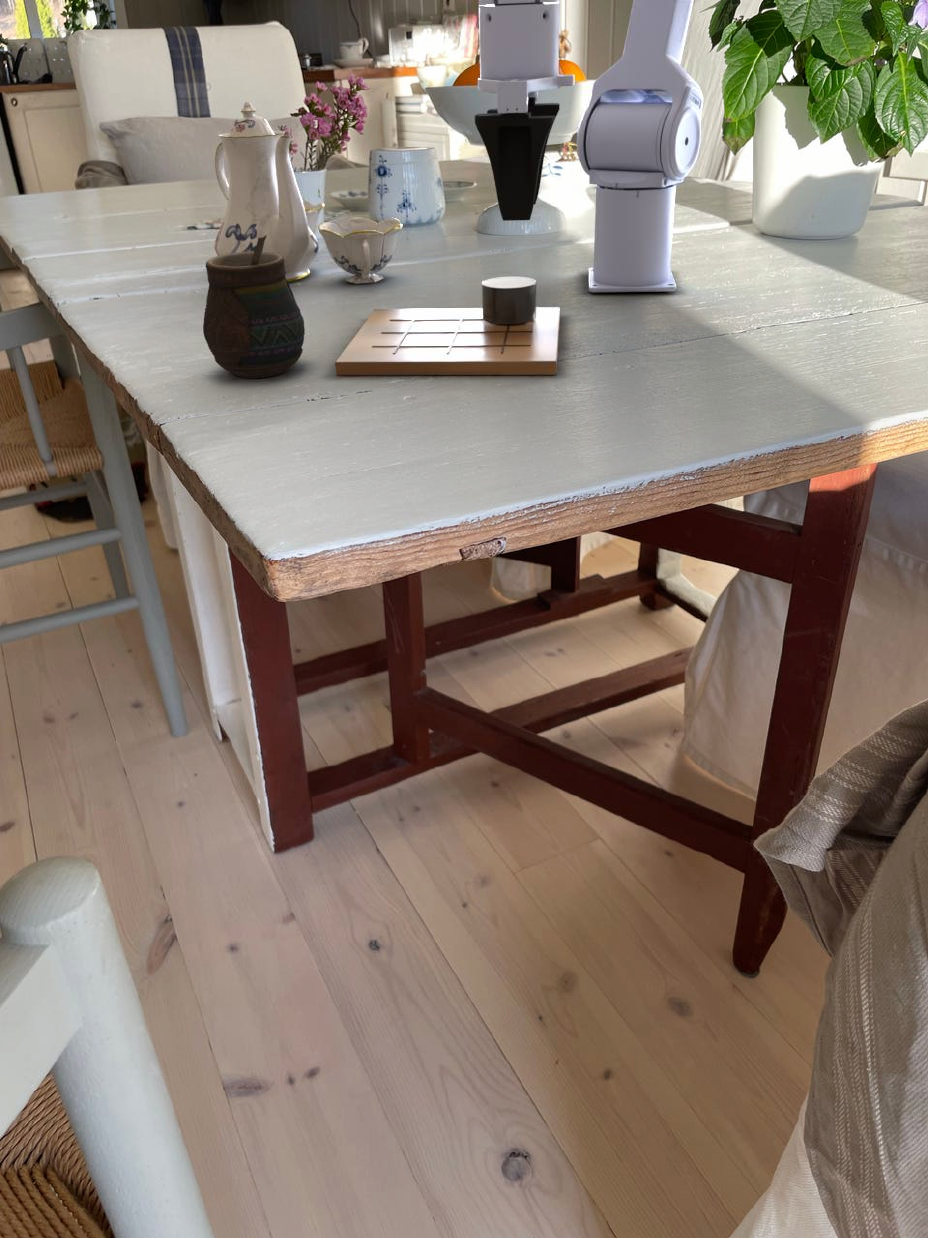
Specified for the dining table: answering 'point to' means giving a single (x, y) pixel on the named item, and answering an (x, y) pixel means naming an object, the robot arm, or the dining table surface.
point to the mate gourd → (252, 314)
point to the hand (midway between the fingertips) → (519, 211)
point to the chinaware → (288, 208)
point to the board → (451, 344)
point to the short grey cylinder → (509, 300)
